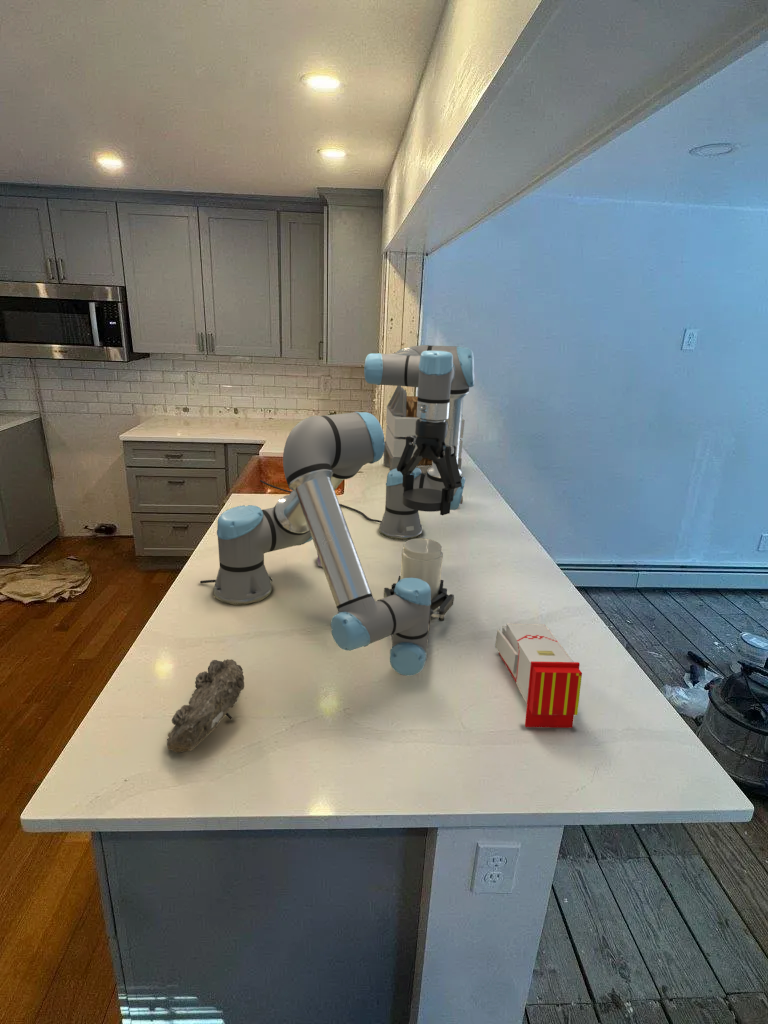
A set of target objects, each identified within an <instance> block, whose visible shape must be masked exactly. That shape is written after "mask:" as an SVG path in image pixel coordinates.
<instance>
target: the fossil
mask: <svg viewBox="0 0 768 1024" xmlns="http://www.w3.org/2000/svg"><path fill="white" fill-rule="evenodd" d="M243 670H244V669H243V667H242V665H240V664H237V662H236V661H235V660H234V659H232V658H231V659H227V658H226V659H224V660H223V661H222V660H217V659H212V660H211V661H210V663H209V665H208V666H207V671H201V672H199V673H198V674H197V675H196V676H195V680H194V684H195V685H194V687H195V689H194V690H193V693H192V694H191V697H190V698H189V700H188V704H184V705H182V706H181V707H180V709H177V710H176V711H175V713H174V715H173V716H172V718H171V723H172V724H173V727H172V730H171V731H170V732H168V734H167V738H166V741H167V742H166V745H167V749H168V750H169V751H173V752H174V753H176V754H178V753H182V752H188V751H189V752H192V751H193V750H195V748H196V747H197V746H199V744H200V743H201V742H203V741H204V740H205V739H206V738H207V737H208V736H209V735H210V734H211V733H212V732H214V730H215V729H217V727H218V726H219V724H220V722H221V721H222V720H223V719H224V718H225V716H226V717H227V719H229V720H233V717H232V715H230V714H229V710H230V709H231V708H234V706H235V704H236V703H237V702H238V699H239V697H240V695H241V693H242V691H243V690H245V689H244V688H245V675H244V671H243Z"/></svg>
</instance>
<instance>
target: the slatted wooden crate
mask: <svg viewBox="0 0 768 1024" xmlns="http://www.w3.org/2000/svg"><path fill="white" fill-rule="evenodd" d="M407 394H408V393H407V390H406V389H404V388H403V386H396V388H395V390H394V392H393V394H392V395H391V398H390V400H389V402H388V404H387V405H386V413H385V414H386V415H385V423H386V428H385V437H384V442H385V448H384V453H383V466H384V467H388V468H389V472H390V471H391V470H393V469H396V468H397V466H398V464H399V461H400V458H401V456H402V453H403V451H404V448H405V445H406V437H408V436H414V435H415V436H416V438H417V435H416V434H415V428H416V420H417V419H419V418H418V417H417V399H418V395H417V396H415V395H414V396H413V395H412V396H411V395H407ZM464 429H465V419H464V418H462V421H461V433H460V445H459V457H458V468H459V469H460V470H461V471H462V461H463V460H462V453H463V442H464V441H463V440H462V439H463V438H464V431H465V430H464ZM416 449H417V446H415V449H414V452H415V451H416ZM414 452H413V454H414ZM413 454H412V457H413ZM412 457H411V458H412ZM410 460H411V459H410ZM431 466H432V460H429V459H428V458H422V460H421V461H420V462H419V464H418V465H417V466H416V467H431Z"/></svg>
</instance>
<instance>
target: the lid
mask: <svg viewBox="0 0 768 1024" xmlns="http://www.w3.org/2000/svg"><path fill="white" fill-rule="evenodd" d="M441 497H442V491H440V490H435V489H428V488H417V489H410V490H407V491H405V492H404V493H403V500H402V503H403V505H404V506H406V507H408V508H410V509H414V510H418V512H425V513H427V512H429V513H431V512H440V509H441Z"/></svg>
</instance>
